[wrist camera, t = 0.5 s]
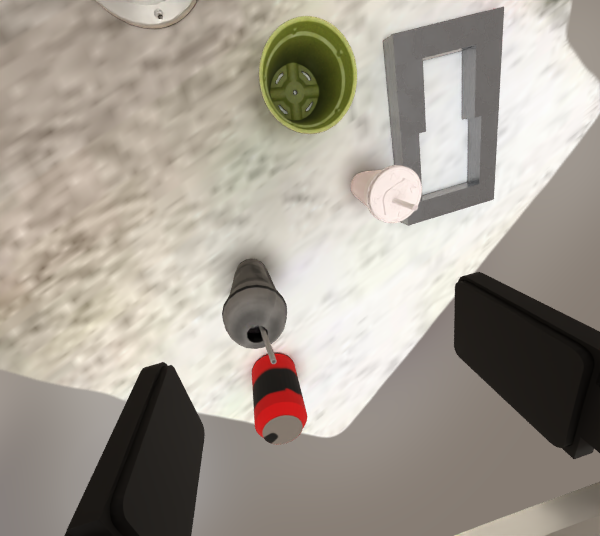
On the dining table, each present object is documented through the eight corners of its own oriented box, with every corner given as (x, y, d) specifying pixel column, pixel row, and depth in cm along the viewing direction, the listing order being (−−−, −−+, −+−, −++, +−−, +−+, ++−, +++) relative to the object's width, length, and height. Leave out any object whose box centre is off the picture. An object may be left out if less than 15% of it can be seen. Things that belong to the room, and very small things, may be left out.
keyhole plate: (382, 41, 34) (392, 34, 32) (487, 15, 35) (504, 6, 33) (399, 221, 44) (407, 225, 42) (481, 196, 45) (493, 199, 43)
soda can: (242, 369, 49) (243, 432, 38) (277, 344, 49) (287, 401, 38) (270, 392, 53) (278, 456, 42) (302, 368, 52) (319, 427, 41)
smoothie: (333, 195, 41) (375, 218, 28) (356, 152, 39) (412, 155, 26) (368, 214, 43) (423, 243, 30) (392, 174, 41) (460, 187, 28)
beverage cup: (219, 257, 41) (203, 345, 23) (268, 244, 41) (291, 319, 23) (234, 300, 44) (231, 407, 26) (280, 287, 45) (308, 383, 26)
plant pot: (301, 152, 37) (318, 153, 30) (239, 101, 34) (239, 88, 26) (345, 86, 36) (376, 70, 28) (284, 25, 32) (299, -14, 24)
